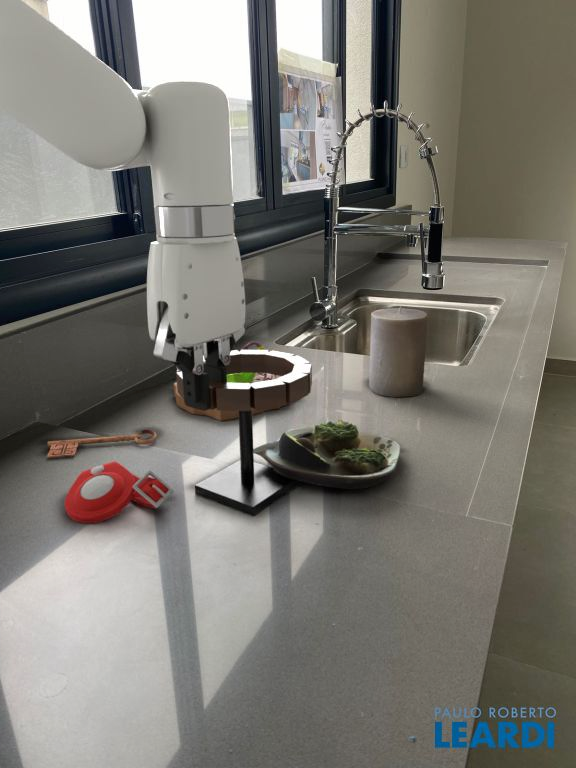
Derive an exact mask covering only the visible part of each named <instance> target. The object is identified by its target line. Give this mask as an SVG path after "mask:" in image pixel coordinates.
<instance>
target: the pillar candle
mask: <svg viewBox="0 0 576 768" xmlns="http://www.w3.org/2000/svg"><path fill="white" fill-rule="evenodd" d="M427 332H428V313H426V312H425V311H422V310H420V309H414V308H404V307H403V308H402V306H401V305H400V306H399V307H394V308H393V307H390V308H381V309H377V310H374V311H372V312H371V313H370V348H369V351H370V352H369V374H368V375H369V380H368V381H369V382H368V385H369V389H370V390H371V391H372V392H373V393H374V394H377V395H380V396H384V397H390V398H391V397H393V398H405V397H414V396H417V395H420V394H421V393H423V391H424V388H425V387H424V375H425V363H426V362H425V361H426V349H427V335H428V334H427Z"/></svg>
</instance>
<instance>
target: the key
mask: <svg viewBox="0 0 576 768" xmlns="http://www.w3.org/2000/svg"><path fill="white" fill-rule="evenodd" d="M146 434H147V435H148V434H149V435H153V436H152V437H150V438H148V439H143V435H146ZM156 439H157V433H156V432H155V431H154V430H152V429H142V430H140V431H138V432H137V433H136V434H132V435H129V434H126V435H115V436H114V435H113V436H103V437H102V436H101V437H90V438H77V439H64V440H52V441H47V448H50V449H49V450H48V453H47V455H46V458H47V459H52V458H64V457H75V456H76V453H77V449H78V447H79V445H90V444H91V445H92V444H103V443H119V442H122V443H123V442H130V441H135V442H136V443H137V444H140V445H147V444H151V443H153V442H154V441H155V440H156Z"/></svg>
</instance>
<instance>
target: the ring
mask: <svg viewBox="0 0 576 768" xmlns="http://www.w3.org/2000/svg"><path fill="white" fill-rule="evenodd" d="M203 362H206V361H205V359H204V355H203ZM225 366H226V371H227V375H228V374H235V373H268V374H273V375H278V376H282V377H280V378H277V379H274V380H268V381H261V382H255V383H221V382H217V381H213V380H209V397H210V409H211V410H213V409H216V408H217V410H221V411H251V408H253V409H254V410H262V409H268V408H273V407H279V406H281V407H284V406H287V405H286V403H287V404H289V405H291V404H294V403H295V402H298V401H299V400H301V399H303V398H306V397H307V396H309V394H311V391H312V385H313V364H312V362H311V361H309V360H307V359H305V358H304V357H302V356H300V355H296V354H293V353H288V352H283V351H278V350H270V351H269V349H264V350H257V349H247V350H241V349H240V351H239V350H238V349H235V350H234V351H231V352H230V363H229V364H228V365H225ZM175 375H176V376H175V377H176V382H177V391H178V394H179V395H180V396H181V397H182V398H183V399H184V391H183V377H182V371H178V370H177V369H176V371H175Z"/></svg>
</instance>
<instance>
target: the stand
mask: <svg viewBox="0 0 576 768" xmlns="http://www.w3.org/2000/svg"><path fill="white" fill-rule="evenodd" d="M238 414H239V418H238V436H239V437H238V439H239V460H236V462H233V463H232V464H229V465H228V466H227V467H225V468H223V469H220V470H219V471H218V472H216V473H214V474H212V475H210V476H208V477H207V478H205V479H203V480H201V481H199V482H198V483H196V484H194V494H195V495H197V496H199V497H202V498H205V499H208V500H209V501H212V502H215V503H217V504H220V505H222V506H226V507H228V508H231V509H233V510H236V511H238V512H241V513H244V514H246V515H249V516H252V517H255V516H257V515H258V514H259V513H261V512H262V511H264V510H265V509H266V508H268V507H270V506H271V505H273V504H274V503H275V502H277V501H278V500H280V499H281V498H283V497H285V495H287V494H288V493H290V492H292V491H293V490H294V489H296V488H297V487H298V486H300V481H297V480H293V479H289V478H287V477H284V476H282V475H280V474H279V473H277V472H276V471H275V470H274V469H273V467H272V466H268V465H265V464H262V463H259V462H255V459H254V458H255V457H254V455H255V454H254V453H253V449H254V426H253V425H254V422H253V415H252V408H251V411H238Z"/></svg>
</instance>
